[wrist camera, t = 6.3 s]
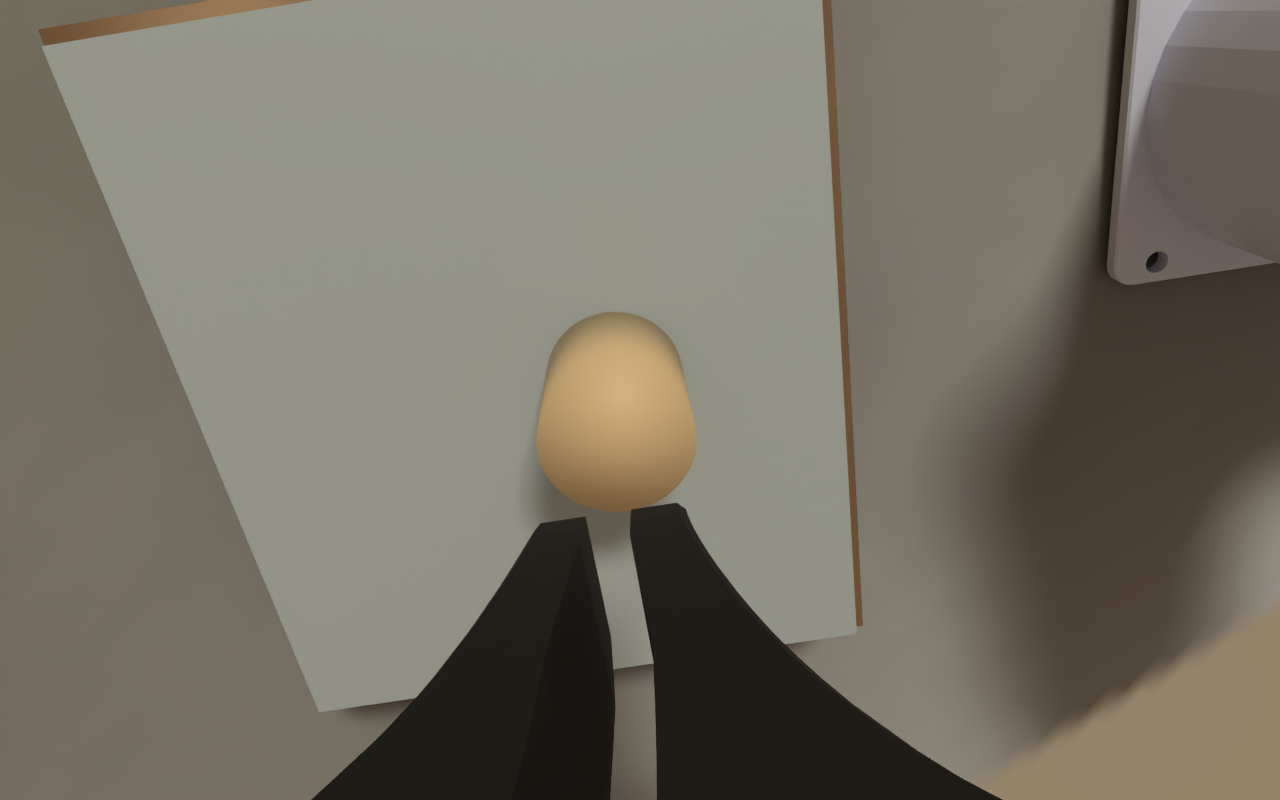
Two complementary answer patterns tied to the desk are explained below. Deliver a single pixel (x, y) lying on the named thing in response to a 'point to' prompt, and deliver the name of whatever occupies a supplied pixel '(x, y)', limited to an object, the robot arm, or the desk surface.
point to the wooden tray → (227, 3)
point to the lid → (490, 299)
